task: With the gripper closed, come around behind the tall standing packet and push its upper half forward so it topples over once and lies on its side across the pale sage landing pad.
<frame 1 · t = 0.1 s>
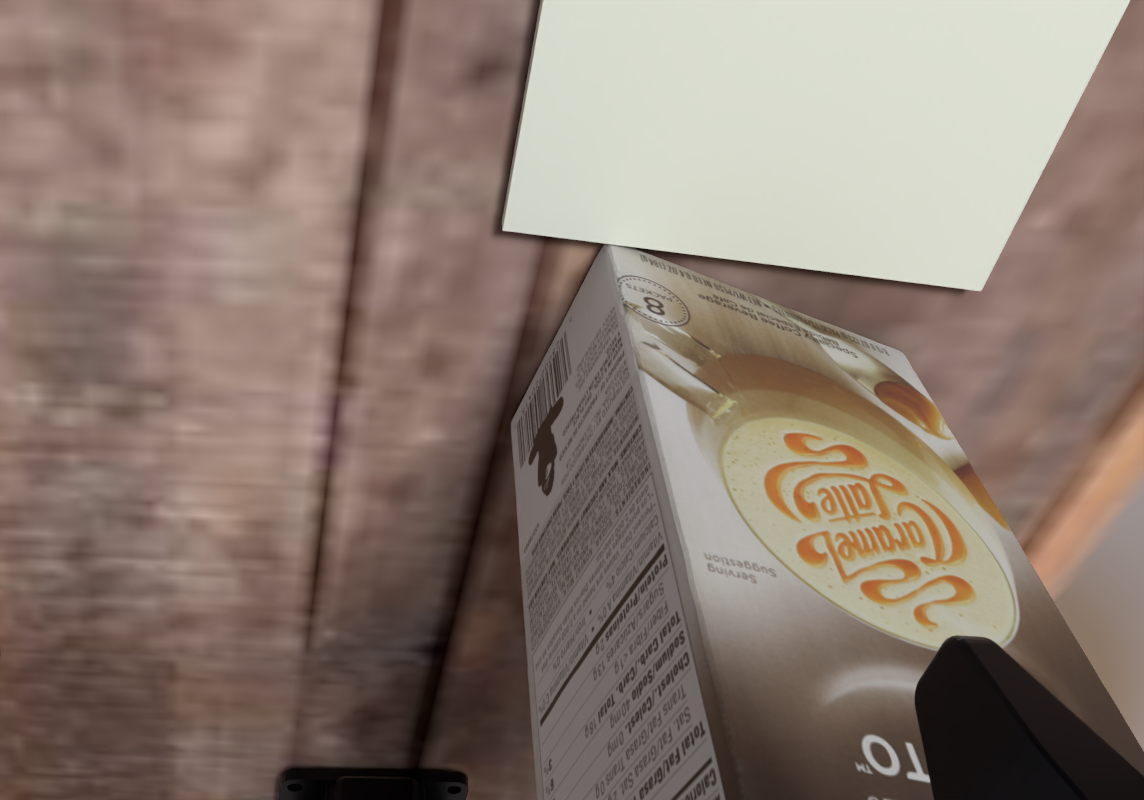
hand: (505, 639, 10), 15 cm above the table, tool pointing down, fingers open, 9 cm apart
landing pad: (812, 71, 22), on the table
coffee box: (702, 381, 27), on the table
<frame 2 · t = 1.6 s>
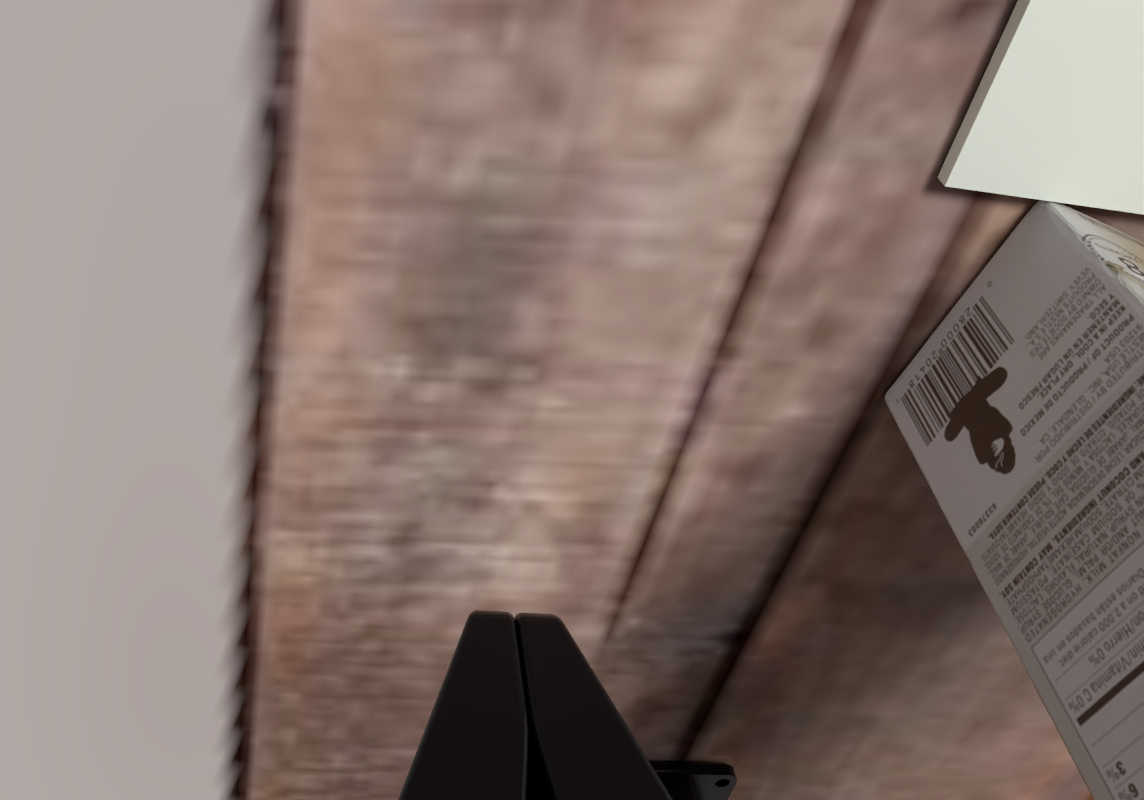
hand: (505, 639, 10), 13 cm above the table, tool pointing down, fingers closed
coffee box: (1086, 351, 25), on the table
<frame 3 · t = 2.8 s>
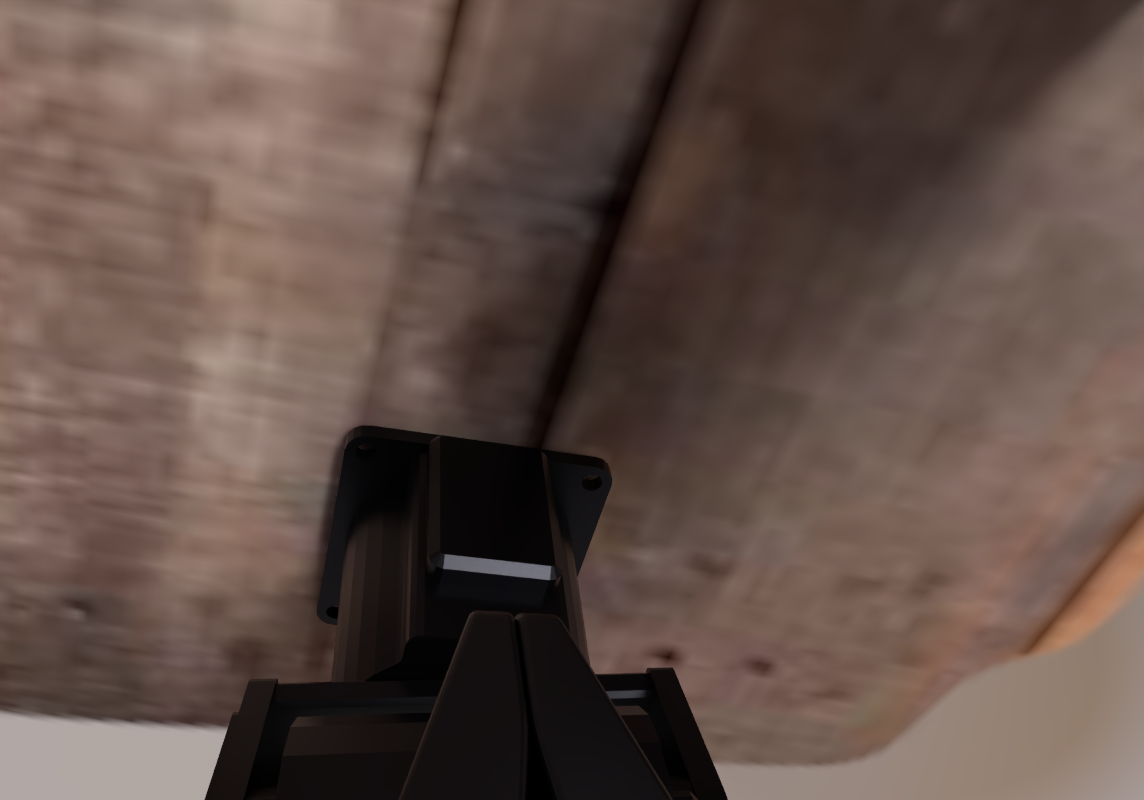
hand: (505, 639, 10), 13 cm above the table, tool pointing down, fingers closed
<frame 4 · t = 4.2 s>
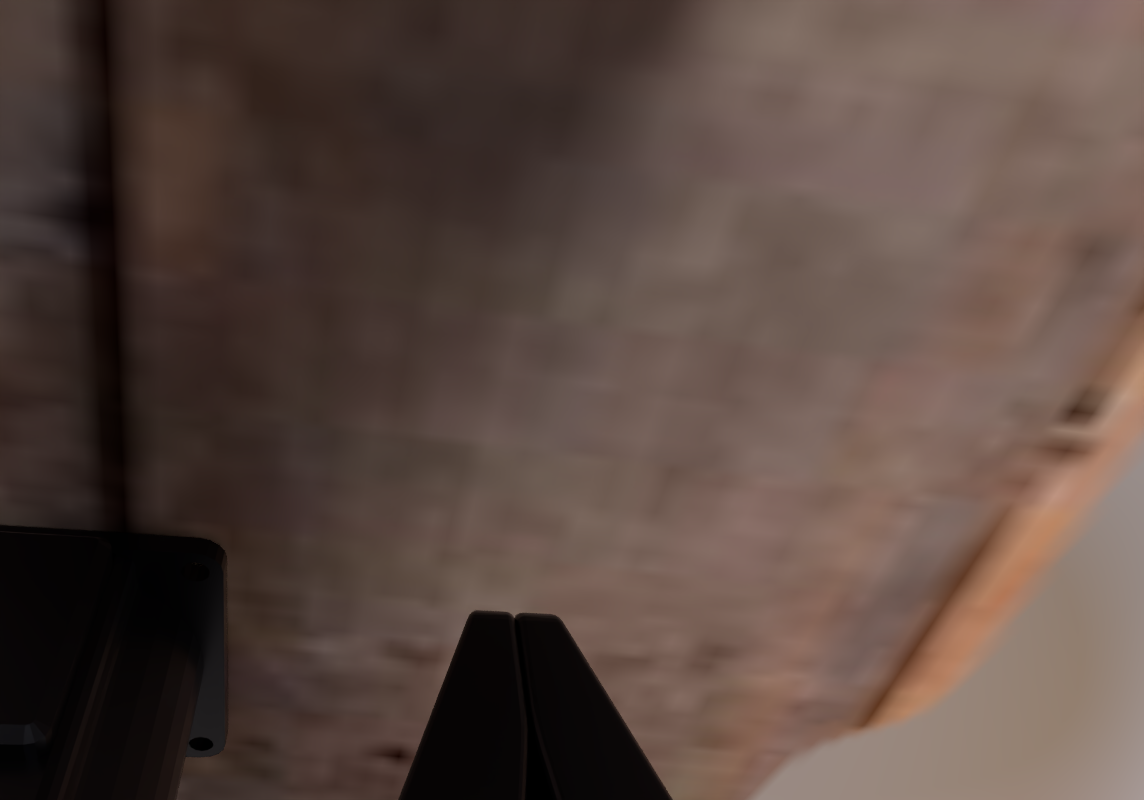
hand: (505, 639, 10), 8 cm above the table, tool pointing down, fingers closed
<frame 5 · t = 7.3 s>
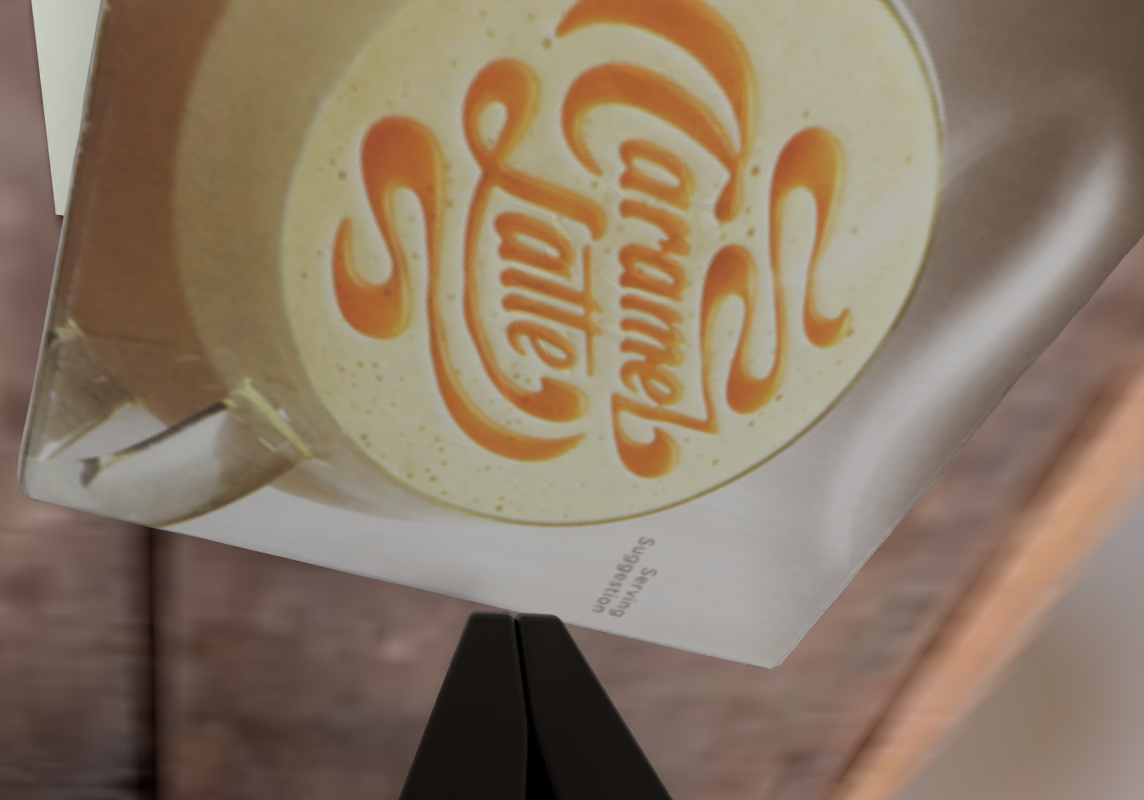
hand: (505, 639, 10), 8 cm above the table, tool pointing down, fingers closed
coffee box: (426, 438, 14), point 4 cm above the table, touching landing pad
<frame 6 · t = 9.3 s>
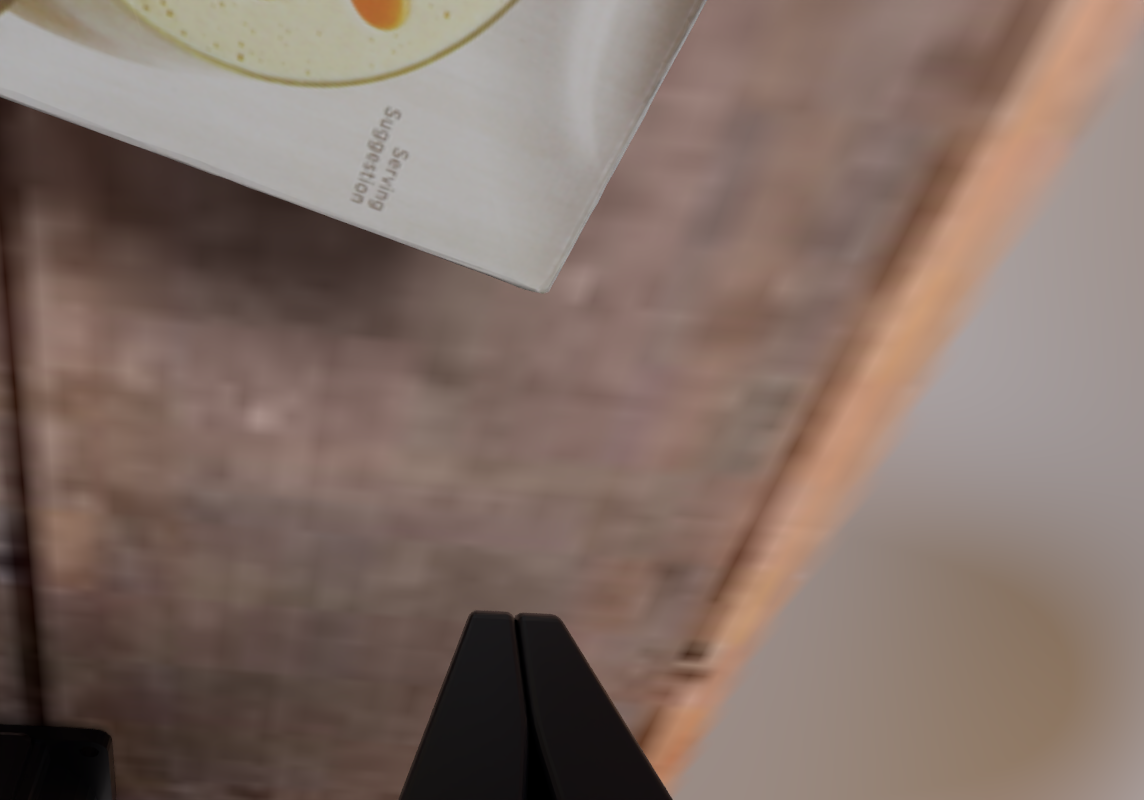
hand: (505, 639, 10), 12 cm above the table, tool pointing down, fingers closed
coffee box: (228, 88, 14), point 4 cm above the table, touching landing pad
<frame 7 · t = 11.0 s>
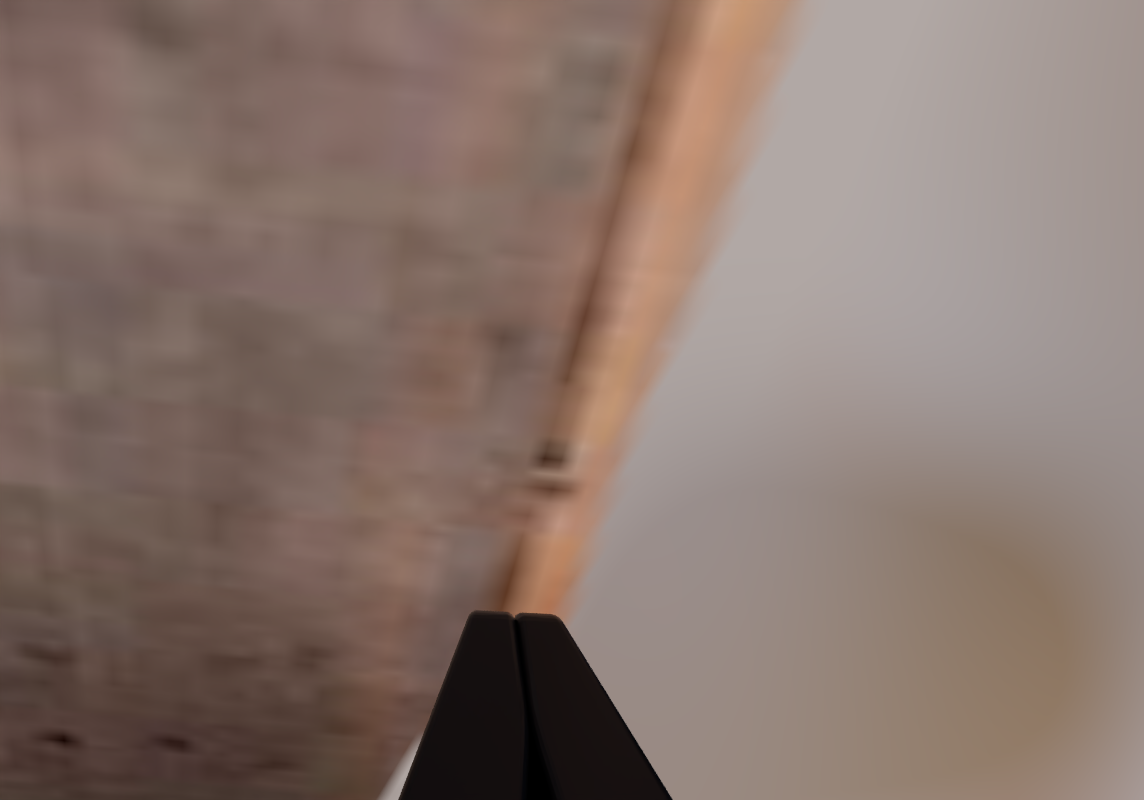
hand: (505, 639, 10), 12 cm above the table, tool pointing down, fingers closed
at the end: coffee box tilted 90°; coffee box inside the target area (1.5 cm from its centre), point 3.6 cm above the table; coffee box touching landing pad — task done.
